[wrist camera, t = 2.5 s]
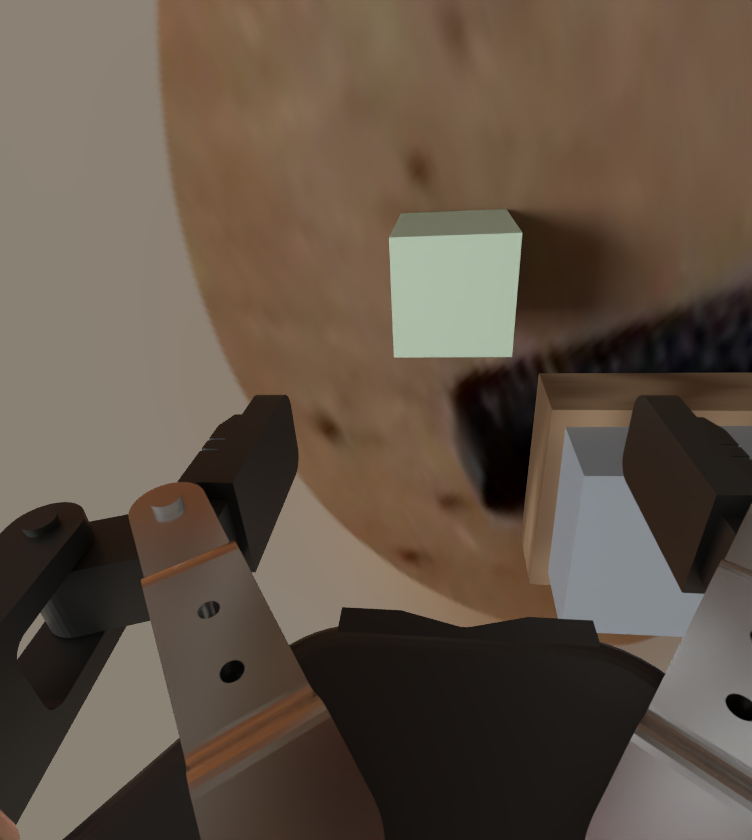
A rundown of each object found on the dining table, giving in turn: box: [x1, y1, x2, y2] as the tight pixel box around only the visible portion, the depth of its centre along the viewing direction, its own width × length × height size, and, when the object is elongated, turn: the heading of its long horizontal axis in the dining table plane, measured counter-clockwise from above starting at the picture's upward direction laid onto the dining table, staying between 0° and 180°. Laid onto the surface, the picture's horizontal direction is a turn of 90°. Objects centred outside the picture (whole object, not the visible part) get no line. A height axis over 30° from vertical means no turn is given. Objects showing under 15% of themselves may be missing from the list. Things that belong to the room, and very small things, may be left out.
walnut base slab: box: [521, 373, 752, 585], centre depth 29 cm, size 12×12×4 cm
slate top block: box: [548, 426, 752, 637], centre depth 25 cm, size 10×10×4 cm
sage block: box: [389, 209, 522, 357], centre depth 23 cm, size 5×5×6 cm
